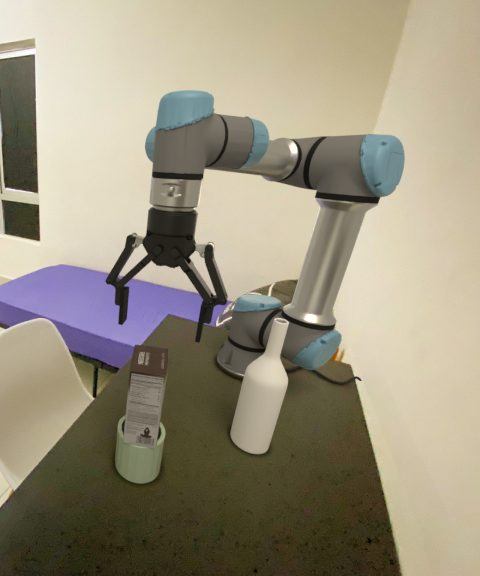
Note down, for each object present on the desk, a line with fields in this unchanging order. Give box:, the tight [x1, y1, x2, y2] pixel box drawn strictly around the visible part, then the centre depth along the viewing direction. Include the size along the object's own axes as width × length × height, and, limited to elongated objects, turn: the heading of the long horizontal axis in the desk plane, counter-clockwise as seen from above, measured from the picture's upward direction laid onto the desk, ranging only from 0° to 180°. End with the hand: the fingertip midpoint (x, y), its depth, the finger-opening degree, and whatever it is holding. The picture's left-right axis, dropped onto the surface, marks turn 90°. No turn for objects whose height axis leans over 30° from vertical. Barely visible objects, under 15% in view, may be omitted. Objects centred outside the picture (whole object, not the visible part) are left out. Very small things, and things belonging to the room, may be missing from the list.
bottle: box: [229, 318, 289, 455], centre depth 69 cm, size 8×8×30 cm
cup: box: [114, 414, 166, 485], centre depth 66 cm, size 9×9×9 cm
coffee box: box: [123, 344, 169, 449], centre depth 62 cm, size 9×6×16 cm
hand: (158, 330), depth 59 cm, fingers open, 13 cm apart
